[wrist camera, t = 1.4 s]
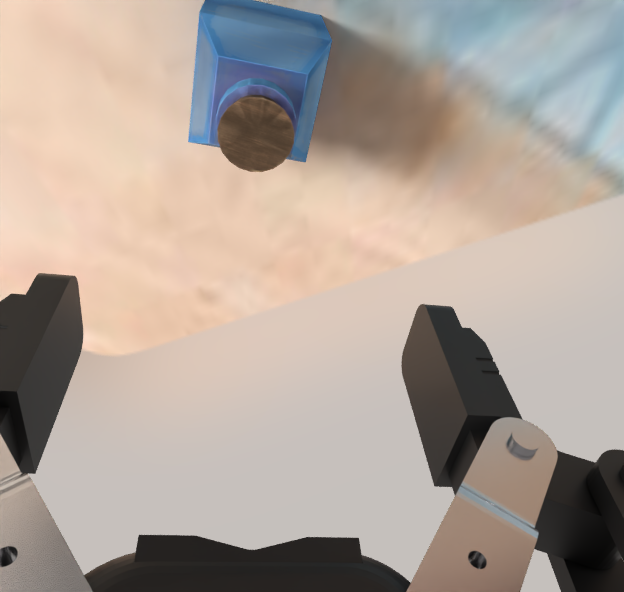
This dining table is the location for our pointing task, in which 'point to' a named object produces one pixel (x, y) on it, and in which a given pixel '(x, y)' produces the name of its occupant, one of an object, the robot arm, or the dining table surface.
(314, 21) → the perfume bottle
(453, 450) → the robot arm
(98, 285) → the dining table surface
